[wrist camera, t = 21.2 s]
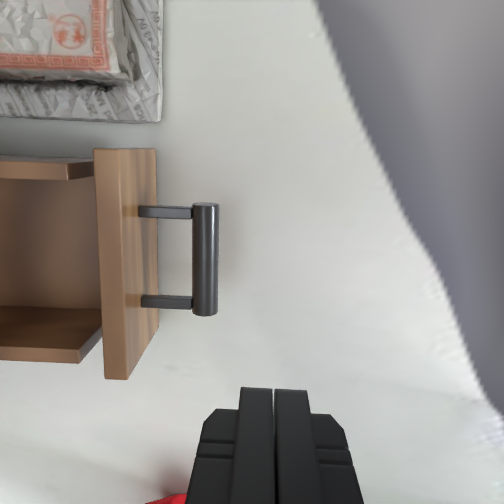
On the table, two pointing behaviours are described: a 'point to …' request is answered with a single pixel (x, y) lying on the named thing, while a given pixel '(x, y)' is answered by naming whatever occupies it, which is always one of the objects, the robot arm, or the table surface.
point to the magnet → (171, 500)
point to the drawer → (91, 257)
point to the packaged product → (81, 60)
